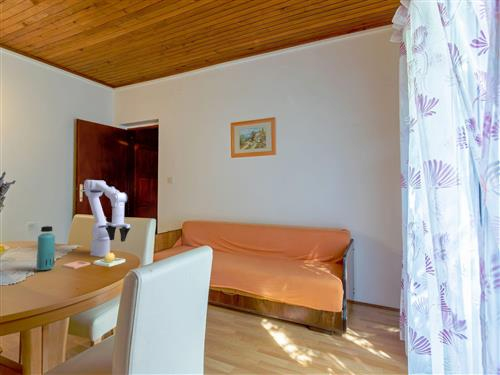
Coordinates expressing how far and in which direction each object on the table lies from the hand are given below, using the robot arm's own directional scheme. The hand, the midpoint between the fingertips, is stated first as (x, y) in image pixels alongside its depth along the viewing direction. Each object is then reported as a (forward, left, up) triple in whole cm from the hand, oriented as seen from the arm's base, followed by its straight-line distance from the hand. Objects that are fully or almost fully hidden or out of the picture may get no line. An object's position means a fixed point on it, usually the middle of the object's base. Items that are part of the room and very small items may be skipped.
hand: (117, 240), depth 145 cm
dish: (-6, -18, -10) cm, 21 cm away
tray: (+4, -8, -10) cm, 13 cm away
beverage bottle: (-11, -29, -10) cm, 33 cm away
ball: (+4, -8, -9) cm, 13 cm away
